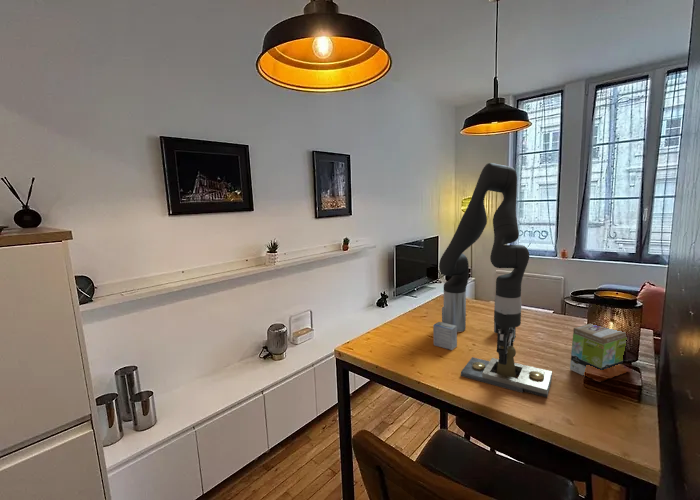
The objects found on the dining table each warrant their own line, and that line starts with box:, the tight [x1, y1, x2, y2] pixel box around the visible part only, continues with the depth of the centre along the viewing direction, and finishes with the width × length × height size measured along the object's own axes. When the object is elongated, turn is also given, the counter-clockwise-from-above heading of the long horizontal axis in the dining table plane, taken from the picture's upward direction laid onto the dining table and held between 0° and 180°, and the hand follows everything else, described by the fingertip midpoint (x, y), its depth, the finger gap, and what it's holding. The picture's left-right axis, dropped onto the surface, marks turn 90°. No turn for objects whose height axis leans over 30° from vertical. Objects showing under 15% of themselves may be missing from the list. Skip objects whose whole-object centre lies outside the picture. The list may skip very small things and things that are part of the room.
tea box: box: [569, 323, 627, 376], centre depth 111 cm, size 15×10×15 cm, turn 114°
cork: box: [495, 345, 517, 378], centre depth 110 cm, size 6×6×11 cm
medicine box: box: [432, 321, 458, 351], centre depth 135 cm, size 8×4×9 cm, turn 47°
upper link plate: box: [482, 357, 553, 398], centre depth 108 cm, size 18×12×4 cm
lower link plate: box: [460, 356, 524, 394], centre depth 112 cm, size 18×12×2 cm, turn 54°
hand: (505, 358), depth 109 cm, fingers open, 8 cm apart
